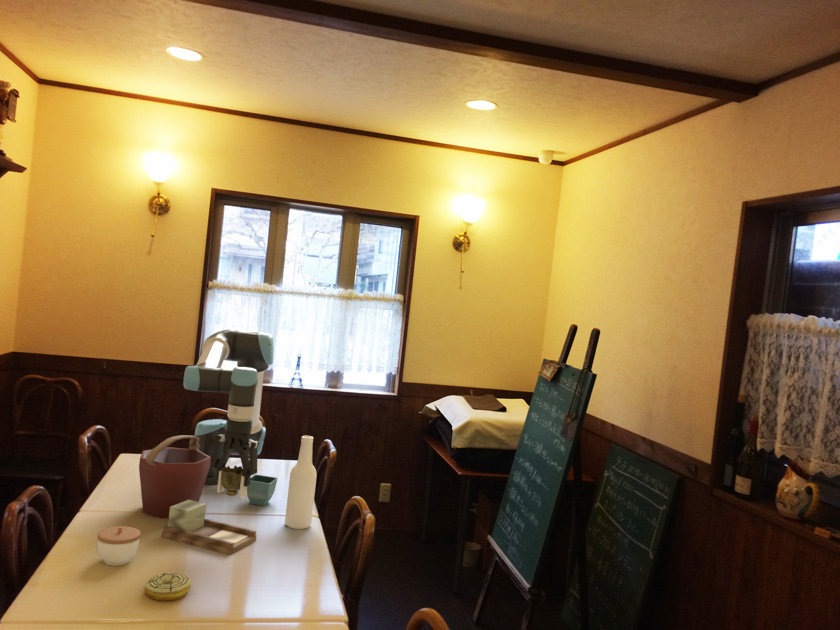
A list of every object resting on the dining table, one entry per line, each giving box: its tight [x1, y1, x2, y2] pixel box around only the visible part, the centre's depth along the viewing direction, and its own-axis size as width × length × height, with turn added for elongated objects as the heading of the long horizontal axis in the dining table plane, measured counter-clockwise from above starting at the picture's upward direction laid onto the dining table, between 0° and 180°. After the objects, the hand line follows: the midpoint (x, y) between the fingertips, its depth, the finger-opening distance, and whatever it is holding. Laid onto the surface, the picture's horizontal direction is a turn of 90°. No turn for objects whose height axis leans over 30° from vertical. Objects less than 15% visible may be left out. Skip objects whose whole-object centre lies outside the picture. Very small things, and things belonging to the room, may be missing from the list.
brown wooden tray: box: [161, 500, 257, 556], centre depth 205 cm, size 24×14×8 cm, turn 72°
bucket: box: [138, 434, 211, 519], centre depth 225 cm, size 24×22×25 cm
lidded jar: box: [96, 525, 142, 567], centre depth 181 cm, size 11×11×9 cm
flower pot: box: [246, 474, 278, 506], centre depth 243 cm, size 9×9×9 cm
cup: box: [222, 465, 244, 497], centre depth 203 cm, size 8×7×8 cm
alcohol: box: [284, 435, 317, 530], centre depth 225 cm, size 9×9×30 cm
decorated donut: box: [143, 572, 192, 602], centre depth 167 cm, size 10×11×4 cm
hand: (231, 493), depth 203 cm, fingers closed on cup, 7 cm apart
